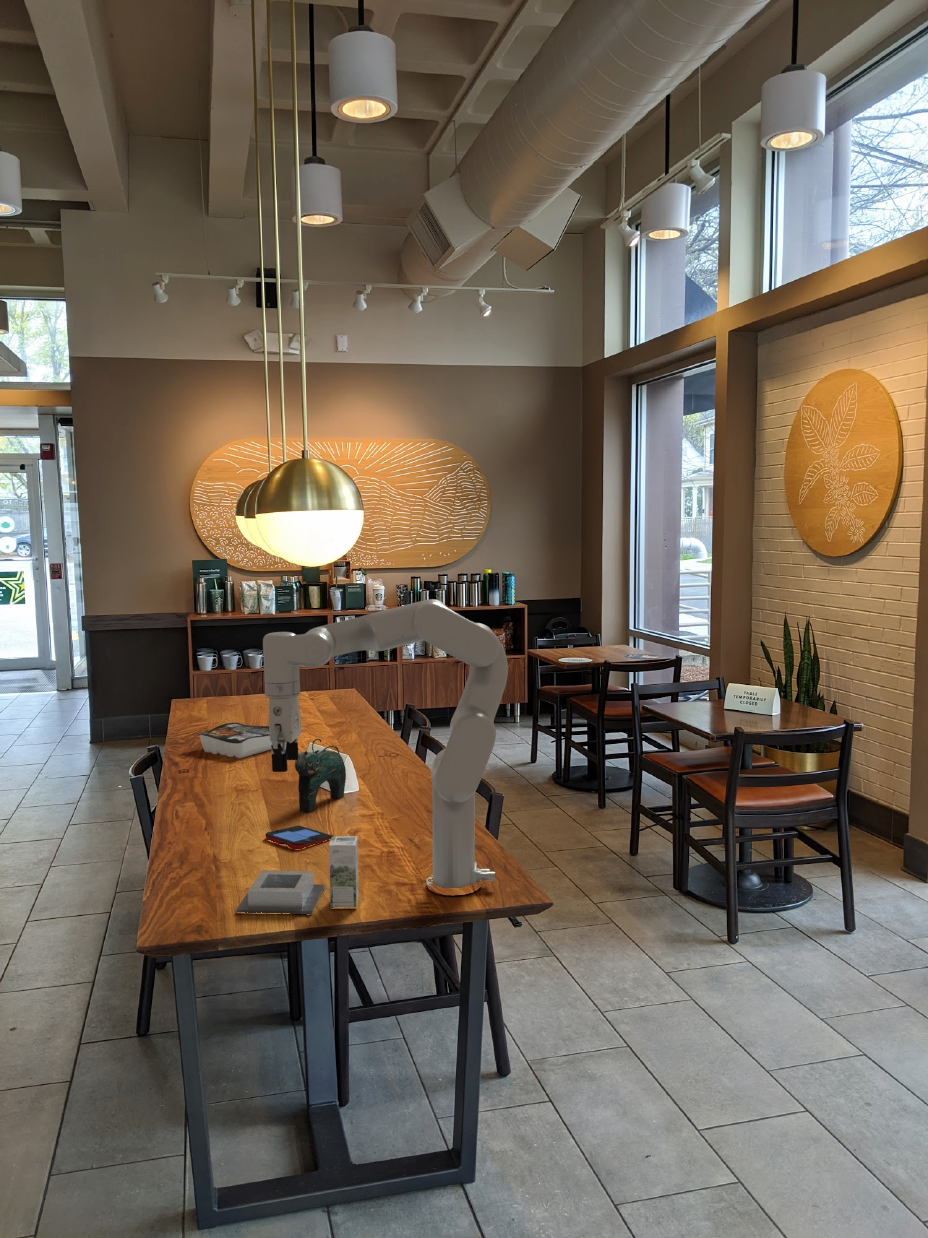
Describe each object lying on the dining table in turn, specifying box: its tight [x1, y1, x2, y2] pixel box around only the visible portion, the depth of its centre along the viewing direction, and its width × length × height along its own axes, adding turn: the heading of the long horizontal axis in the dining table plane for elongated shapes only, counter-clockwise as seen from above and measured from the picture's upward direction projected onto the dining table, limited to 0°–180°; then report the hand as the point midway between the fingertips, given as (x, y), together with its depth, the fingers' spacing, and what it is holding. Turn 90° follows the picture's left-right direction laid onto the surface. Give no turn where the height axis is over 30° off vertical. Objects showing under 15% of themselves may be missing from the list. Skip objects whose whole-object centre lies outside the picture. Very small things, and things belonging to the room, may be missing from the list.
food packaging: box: [198, 722, 272, 759], centre depth 335 cm, size 25×8×23 cm
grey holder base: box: [235, 870, 325, 915], centre depth 201 cm, size 16×14×4 cm
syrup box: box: [328, 835, 360, 909], centre depth 199 cm, size 6×6×14 cm
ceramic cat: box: [294, 738, 347, 814], centre depth 270 cm, size 20×6×20 cm, turn 151°
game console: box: [265, 825, 335, 850], centre depth 241 cm, size 14×13×2 cm
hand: (285, 765), depth 204 cm, fingers open, 9 cm apart
